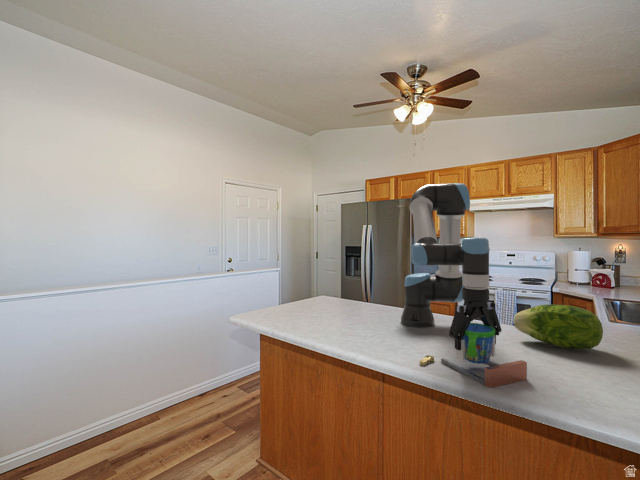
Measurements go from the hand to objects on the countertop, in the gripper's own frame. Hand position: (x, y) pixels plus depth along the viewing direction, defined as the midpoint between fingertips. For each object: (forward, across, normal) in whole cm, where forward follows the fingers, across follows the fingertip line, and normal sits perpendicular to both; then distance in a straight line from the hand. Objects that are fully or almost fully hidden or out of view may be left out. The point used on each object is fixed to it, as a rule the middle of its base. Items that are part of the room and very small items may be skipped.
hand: (475, 357), depth 98 cm
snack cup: (+1, 0, 0) cm, 1 cm away
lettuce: (+3, -43, -5) cm, 44 cm away
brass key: (+3, +12, -9) cm, 15 cm away
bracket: (+3, 0, +1) cm, 3 cm away
